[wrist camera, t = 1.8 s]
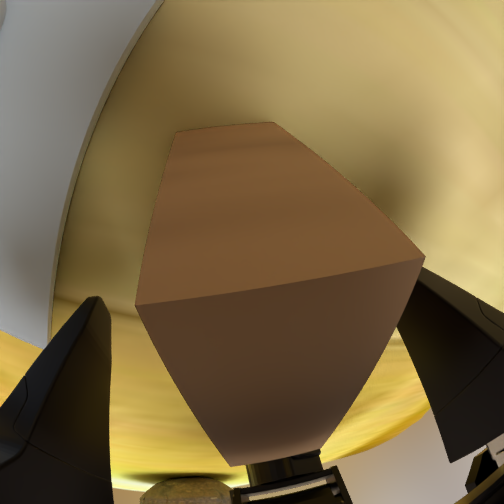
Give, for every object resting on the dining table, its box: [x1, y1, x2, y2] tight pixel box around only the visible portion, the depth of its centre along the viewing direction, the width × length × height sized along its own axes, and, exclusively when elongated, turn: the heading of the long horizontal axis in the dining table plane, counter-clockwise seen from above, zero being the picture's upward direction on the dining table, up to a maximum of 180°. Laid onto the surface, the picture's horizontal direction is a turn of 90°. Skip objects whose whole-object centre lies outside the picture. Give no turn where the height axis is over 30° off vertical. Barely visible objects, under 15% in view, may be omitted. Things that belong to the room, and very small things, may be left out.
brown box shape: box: [135, 122, 426, 467], centre depth 8 cm, size 8×3×7 cm, turn 2°
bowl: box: [140, 477, 233, 504], centre depth 36 cm, size 21×21×10 cm
